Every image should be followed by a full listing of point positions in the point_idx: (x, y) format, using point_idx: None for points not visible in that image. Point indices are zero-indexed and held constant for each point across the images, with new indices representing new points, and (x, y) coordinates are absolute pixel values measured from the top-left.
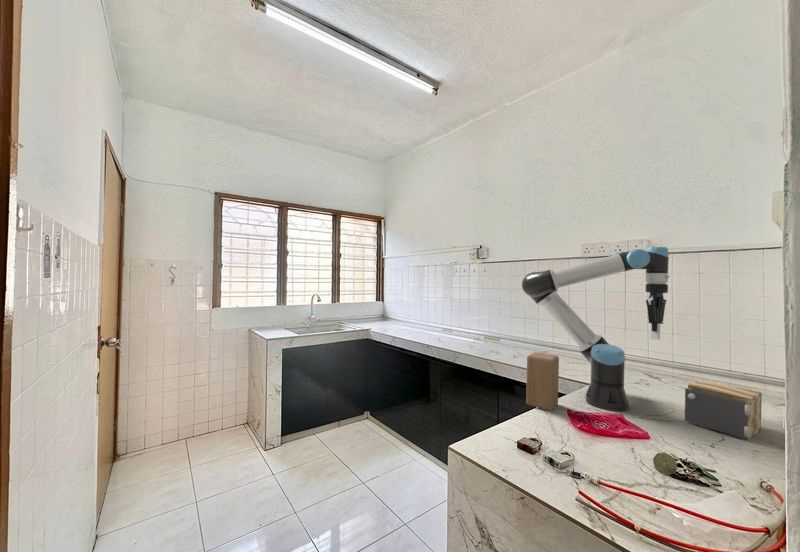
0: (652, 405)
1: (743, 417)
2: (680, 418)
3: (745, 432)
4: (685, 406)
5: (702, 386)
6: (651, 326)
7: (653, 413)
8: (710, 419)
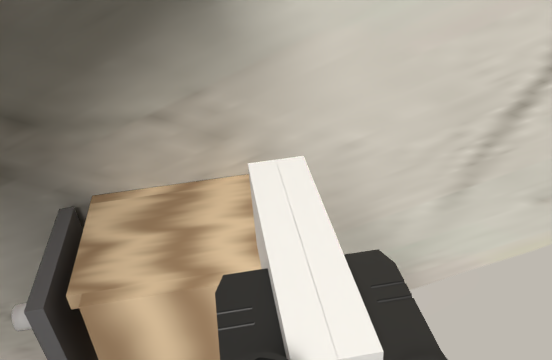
0: (131, 31)
1: None
2: (93, 175)
3: None
4: (46, 250)
5: (129, 337)
6: (280, 307)
7: (15, 100)
8: None
